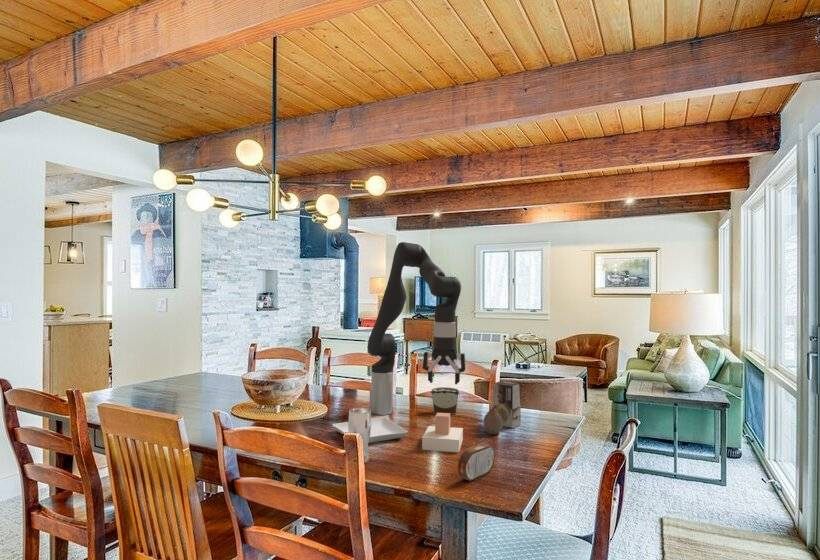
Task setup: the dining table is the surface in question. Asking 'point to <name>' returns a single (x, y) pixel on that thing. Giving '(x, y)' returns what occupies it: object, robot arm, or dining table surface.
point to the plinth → (442, 440)
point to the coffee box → (508, 402)
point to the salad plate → (377, 429)
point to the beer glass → (361, 426)
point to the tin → (476, 461)
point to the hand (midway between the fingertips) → (443, 383)
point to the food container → (445, 400)
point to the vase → (492, 422)
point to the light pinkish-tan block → (442, 423)
